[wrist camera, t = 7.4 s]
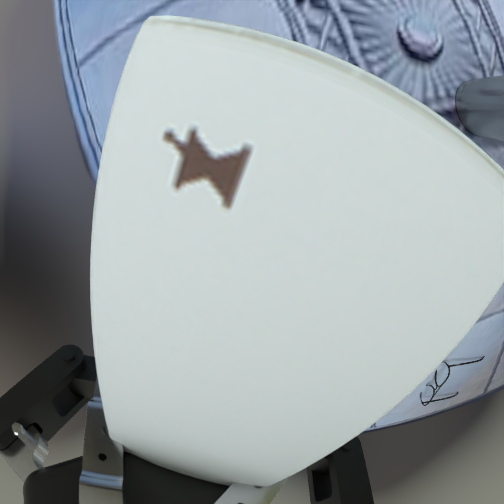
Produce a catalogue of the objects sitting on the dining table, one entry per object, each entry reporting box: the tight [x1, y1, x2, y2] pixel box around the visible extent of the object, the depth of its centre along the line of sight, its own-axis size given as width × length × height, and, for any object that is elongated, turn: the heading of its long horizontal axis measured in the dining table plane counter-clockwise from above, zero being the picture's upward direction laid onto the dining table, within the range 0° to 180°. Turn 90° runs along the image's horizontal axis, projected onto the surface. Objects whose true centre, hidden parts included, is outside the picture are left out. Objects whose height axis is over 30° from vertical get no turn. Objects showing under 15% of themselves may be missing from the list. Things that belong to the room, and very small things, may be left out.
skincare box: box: [90, 16, 504, 488], centre depth 13 cm, size 21×6×16 cm, turn 160°
